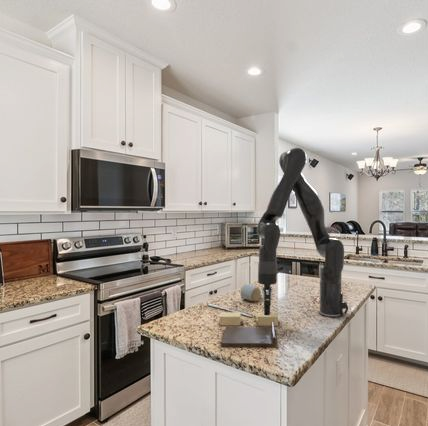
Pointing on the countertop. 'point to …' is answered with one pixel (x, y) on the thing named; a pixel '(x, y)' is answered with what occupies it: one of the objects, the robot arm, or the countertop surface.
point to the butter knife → (228, 309)
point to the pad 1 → (230, 318)
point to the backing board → (249, 337)
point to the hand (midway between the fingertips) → (266, 311)
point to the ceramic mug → (250, 292)
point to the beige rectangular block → (267, 319)
